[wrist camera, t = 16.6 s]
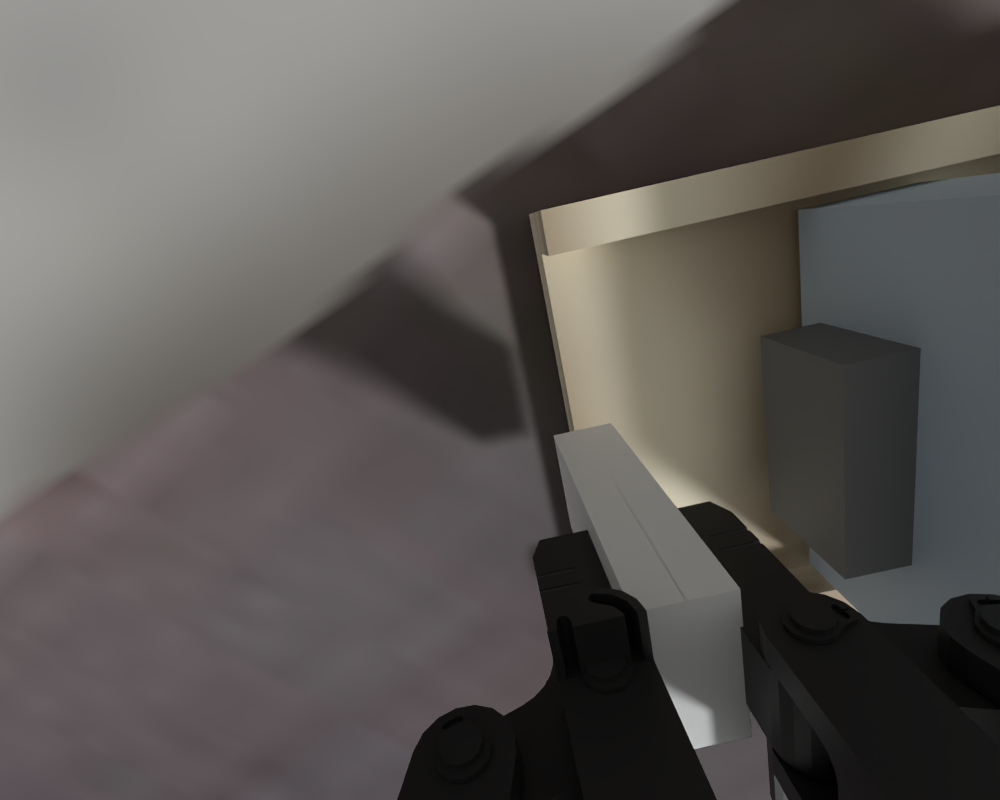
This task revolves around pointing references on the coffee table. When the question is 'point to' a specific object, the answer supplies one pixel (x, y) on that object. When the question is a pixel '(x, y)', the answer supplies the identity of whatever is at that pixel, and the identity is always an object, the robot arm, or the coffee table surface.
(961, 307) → the block
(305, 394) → the coffee table surface
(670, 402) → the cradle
